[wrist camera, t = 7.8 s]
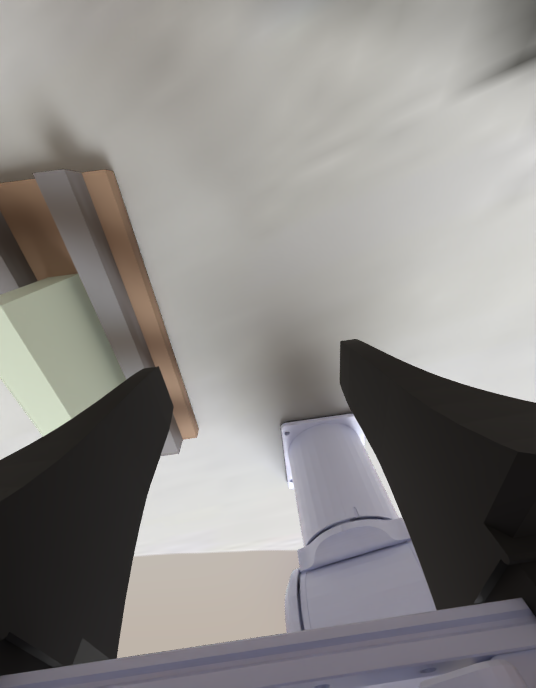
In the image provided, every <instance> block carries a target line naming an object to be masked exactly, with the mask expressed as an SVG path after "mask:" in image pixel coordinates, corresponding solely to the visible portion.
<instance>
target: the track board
mask: <svg viewBox="0 0 536 688" xmlns="http://www.w3.org/2000/svg"><path fill="white" fill-rule="evenodd" d="M33 175H34V177H35V179H28V180H20V181H12V182H5V183H0V295H1V294H4V293H7V292H9V291H12V290H15V289H18V288H20V287H23V286H26V285H29V284H32V283H34V282H37V281H40V280H43V279H45V278H48V277H55V276H63V275H70V274H79V276H80V279H81V281H82V283H83V285H84V287H85V290H86V292H87V294H88V296H89V298H90V301H91V303H92V305H93V307H94V309H95V312H96V314H97V316H98V318H99V320H100V323H101V325H102V327H103V329H104V331H105V334H106V336H107V338H108V340H109V342H110V345H111V347H112V349H113V351H114V353H115V356H116V358H117V360H118V362H119V364H120V367H121V369H122V371H123V373H124V375H125V378H126V380H127V379H128V378H129V377H131V376H132V375H134V374H135V373H137V372H138V371H140V370H142V369H143V368H150V367H157V366H159V368H160V371H161V373H162V376H163V379H164V381H165V384H166V387H167V389H168V392H169V395H170V398H171V400H172V403H173V406H174V408H173V414H172V420H171V424H170V429H169V432H168V435H167V438H166V441H165V444H164V447H163V450H162V453H161V456H165V455H173V454H179V452H180V448H181V445H182V441H183V439H190V438H197V435H198V430H199V428H198V425H197V422H196V419H195V416H194V413H193V410H192V407H191V404H190V401H189V398H188V395H187V392H186V389H185V386H184V383H183V380H182V377H181V374H180V371H179V368H178V365H177V362H176V359H175V356H174V353H173V350H172V347H171V344H170V341H169V338H168V335H167V332H166V329H165V326H164V323H163V320H162V317H161V314H160V311H159V308H158V305H157V302H156V299H155V296H154V293H153V289H152V286H151V283H150V280H149V277H148V274H147V271H146V268H145V265H144V262H143V259H142V256H141V253H140V250H139V247H138V244H137V241H136V238H135V235H134V232H133V229H132V226H131V223H130V220H129V217H128V214H127V211H126V208H125V205H124V202H123V199H122V196H121V193H120V190H119V187H118V184H117V181H116V178H115V175H114V172H113V171H109V170H97V171H89V172H82V173H81V172H76V171H71V170H66V169H60V170H53V171H45V172H37V173H33Z"/></svg>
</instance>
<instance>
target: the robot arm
mask: <svg viewBox="0 0 536 688" xmlns="http://www.w3.org/2000/svg"><path fill="white" fill-rule="evenodd" d="M340 385H341V388H342V390H343V393H344V396H345V398H346V401H347V403H348V405H349V407H350V409H351V411H352V414H344V415H337V416H330V417H323V418H316V419H309V420H302V421H295V422H288V423H283V424H282V425H281V433H282V441H283V449H284V457H285V465H286V473H287V480H288V487H289V488H290V489H294V490H295V496H296V502H297V508H298V514H299V520H300V526H301V531H302V537H303V543H304V548H301V549H299V550H298V551H297V552H298V558H299V565H300V568H297V569H294V570H293V571H292V573H291V576H290V579H289V583H288V585H287V589H286V594H285V595H286V596H285V620H286V630H287V633H283V634H276V635H270V636H263V637H256V638H250V639H243V640H236V641H230V642H223V643H216V644H210V645H203V646H196V647H190V648H183V649H176V650H170V651H163V652H157V653H150V654H143V655H137V656H130V657H123V658H117V651H118V644H119V638H120V631H121V625H122V618H123V612H124V605H125V599H126V593H127V588H128V583H129V577H130V571H131V566H132V560H133V556H134V551H135V546H136V541H137V537H138V532H139V527H140V523H141V519H142V515H143V510H144V506H145V502H146V498H147V494H148V491H149V488H150V484H151V482H152V479H153V476H154V473H155V470H156V467H157V464H158V461H159V459H160V456H161V453H162V450H163V447H164V444H165V441H166V438H167V435H168V432H169V429H170V424H171V420H172V414H173V408H174V406H173V403H172V400H171V398H170V395H169V392H168V389H167V387H166V384H165V381H164V379H163V376H162V373H161V371H160V368H159V366H157V367H150V368H143V369H142V370H140V371H138V372H137V373H135V374H134V375H132V376H131V377H129V378H128V379H127V380H125V381H124V382H123V383H121V384H120V385H118V386H117V387H116V388H114V389H113V390H112V391H110V392H109V393H108V394H106V395H105V396H104V397H102V398H101V399H100V400H98V401H97V402H95V403H94V404H92V405H91V406H89V407H88V408H87V409H85V410H84V411H82V412H81V413H79V414H78V415H76V416H75V417H74V418H72V419H71V420H69V421H68V422H66V423H65V424H63V425H61V426H60V427H58V428H57V429H55V430H53V431H52V432H50V433H48V434H47V435H45V436H43V437H42V438H40V439H38V440H37V441H35V442H33V443H31V444H30V445H28V446H26V447H24V448H22V449H20V450H18V451H17V452H15V453H13V454H11V455H9V456H7V457H5V458H3V459H2V460H0V688H536V403H534V402H529V401H525V400H520V399H516V398H512V397H508V396H503V395H499V394H496V393H492V392H488V391H485V390H481V389H477V388H474V387H470V386H467V385H464V384H461V383H458V382H455V381H452V380H449V379H446V378H443V377H440V376H437V375H435V374H432V373H429V372H427V371H424V370H422V369H420V368H417V367H415V366H412V365H410V364H408V363H406V362H403V361H401V360H399V359H397V358H395V357H393V356H391V355H388V354H386V353H384V352H382V351H380V350H378V349H376V348H374V347H372V346H370V345H368V344H366V343H364V342H362V341H360V340H357V339H353V340H346V341H340ZM286 431H288V432H286ZM365 436H366V438H367V440H368V442H369V443H370V445H371V447H372V449H373V451H374V453H375V455H376V457H377V459H378V461H379V463H380V465H381V467H382V469H383V472H384V474H385V476H386V479H387V481H388V483H389V486H390V488H391V490H392V493H393V495H394V498H395V500H396V503H397V505H398V507H399V510H400V512H401V515H402V517H403V519H402V518H399V517H398V515H397V513H396V511H395V509H394V507H393V505H392V503H391V501H390V499H389V497H388V495H387V492H386V490H385V488H384V486H383V484H382V482H381V480H380V478H379V476H378V474H377V472H376V470H375V468H374V466H373V464H372V462H371V460H370V458H369V456H368V454H367V452H366V450H365V448H364V444H365Z"/></svg>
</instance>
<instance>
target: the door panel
mask: <svg viewBox="0 0 536 688" xmlns="http://www.w3.org/2000/svg"><path fill="white" fill-rule="evenodd" d="M0 379H1V380H2V381H3V383H4V384H5V386H6V387H7V388H8V390H9V391H10V392H11V394H12V395H13V396H14V398H15V399H16V401H17V402H18V403H19V405H20V406H21V407H22V409H23V410H24V412H25V413H26V414H27V416H28V417H29V418H30V420H31V421H32V422H33V424H34V425H35V427H36V428H37V429H38V431H39V432H40V433H41V435H42V436H45V435H47V434H48V433H50V432H52V431H53V430H55V429H57V428H58V427H60V426H61V425H63V424H65V423H66V422H68V421H69V420H71V419H72V418H74V417H75V416H76V415H78V414H79V413H81V412H82V411H84V410H85V409H87V408H88V407H89V406H91V405H92V404H94V403H95V402H97V401H98V400H100V399H101V398H102V397H104V396H105V395H106V394H108V393H109V392H110V391H112V390H113V389H114V388H116V387H117V386H118V385H120V384H121V383H123V382H124V381H125V380H126V378H125V375H124V373H123V371H122V369H121V367H120V364H119V362H118V360H117V358H116V356H115V353H114V351H113V349H112V347H111V345H110V342H109V340H108V338H107V336H106V334H105V331H104V329H103V327H102V325H101V323H100V320H99V318H98V316H97V314H96V312H95V309H94V307H93V305H92V303H91V301H90V298H89V296H88V294H87V292H86V290H85V287H84V285H83V283H82V281H81V279H80V276H79V274H70V275H63V276H55V277H48V278H45V279H43V280H40V281H37V282H34V283H32V284H29V285H26V286H23V287H20V288H18V289H15V290H12V291H9V292H7V293H4V294H1V295H0Z"/></svg>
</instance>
